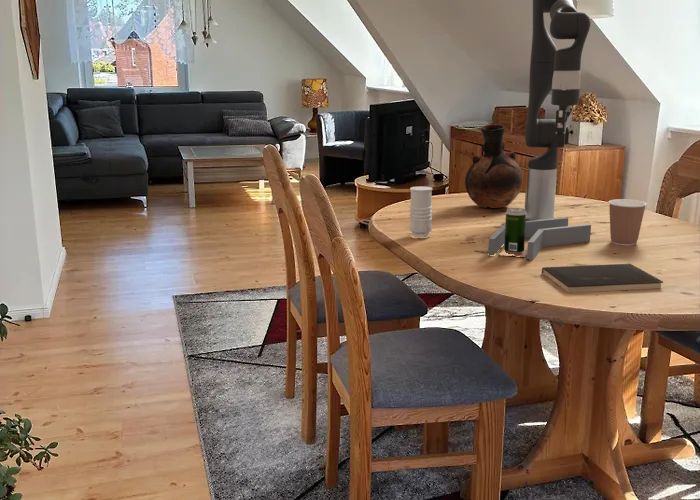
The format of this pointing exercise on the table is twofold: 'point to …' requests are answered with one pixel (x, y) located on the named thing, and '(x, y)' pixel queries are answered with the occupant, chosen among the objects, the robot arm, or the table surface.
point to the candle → (420, 211)
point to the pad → (522, 254)
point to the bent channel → (544, 235)
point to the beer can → (515, 231)
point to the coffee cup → (625, 220)
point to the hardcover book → (601, 278)
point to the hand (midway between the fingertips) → (562, 145)
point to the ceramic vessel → (493, 172)
